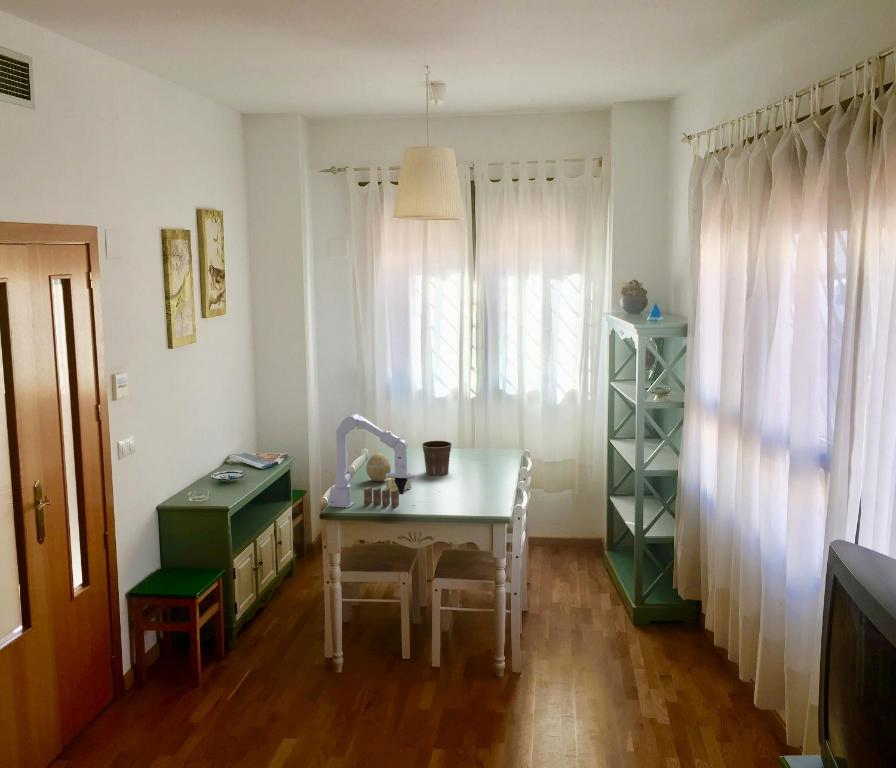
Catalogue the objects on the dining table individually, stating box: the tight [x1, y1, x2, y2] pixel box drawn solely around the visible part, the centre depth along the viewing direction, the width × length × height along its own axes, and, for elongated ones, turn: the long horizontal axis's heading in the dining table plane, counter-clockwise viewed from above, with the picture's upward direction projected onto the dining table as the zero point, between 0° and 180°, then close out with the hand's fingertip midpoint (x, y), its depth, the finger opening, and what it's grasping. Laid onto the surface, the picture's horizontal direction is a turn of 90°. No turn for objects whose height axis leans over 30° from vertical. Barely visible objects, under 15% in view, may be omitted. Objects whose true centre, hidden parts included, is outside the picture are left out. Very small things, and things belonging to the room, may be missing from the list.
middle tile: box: [381, 487, 391, 508], centre depth 406 cm, size 2×5×8 cm, turn 164°
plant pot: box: [421, 440, 453, 477], centre depth 464 cm, size 16×16×16 cm
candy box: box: [385, 472, 412, 496], centre depth 429 cm, size 16×2×8 cm, turn 141°
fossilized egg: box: [365, 452, 392, 482], centre depth 449 cm, size 13×13×15 cm
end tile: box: [363, 486, 373, 507], centre depth 408 cm, size 2×5×8 cm, turn 164°
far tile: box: [390, 488, 400, 509], centre depth 404 cm, size 2×5×8 cm, turn 164°
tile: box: [372, 486, 382, 507], centre depth 407 cm, size 2×5×8 cm, turn 164°
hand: (401, 493), depth 403 cm, fingers closed
